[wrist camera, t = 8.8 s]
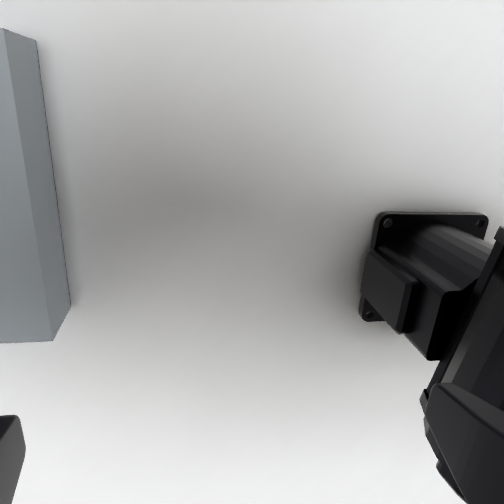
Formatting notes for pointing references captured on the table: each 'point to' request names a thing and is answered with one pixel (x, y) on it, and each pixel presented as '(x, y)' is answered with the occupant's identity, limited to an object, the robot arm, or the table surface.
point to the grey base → (27, 203)
